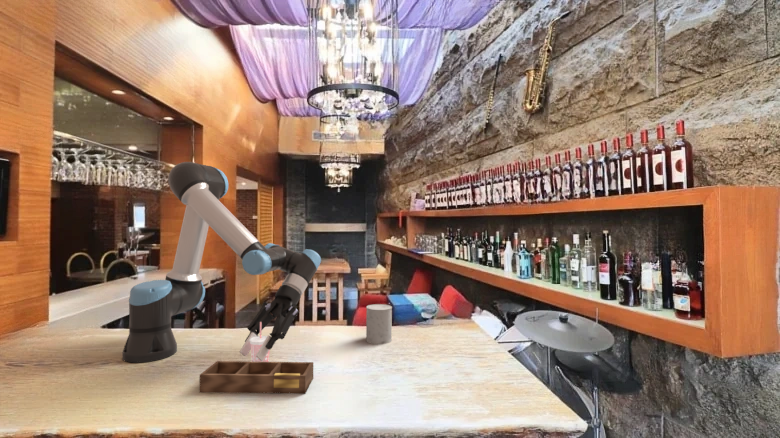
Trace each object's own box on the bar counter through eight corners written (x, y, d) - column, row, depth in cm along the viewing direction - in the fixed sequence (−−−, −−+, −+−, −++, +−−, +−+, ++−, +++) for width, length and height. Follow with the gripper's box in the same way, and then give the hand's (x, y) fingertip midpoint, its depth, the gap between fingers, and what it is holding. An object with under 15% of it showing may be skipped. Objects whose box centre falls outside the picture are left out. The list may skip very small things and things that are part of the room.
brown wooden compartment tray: (198, 392, 98) (199, 374, 98) (216, 377, 108) (217, 360, 108) (305, 394, 98) (305, 375, 98) (313, 378, 108) (313, 361, 108)
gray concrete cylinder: (388, 345, 137) (389, 310, 137) (363, 343, 139) (363, 309, 139) (394, 337, 146) (394, 304, 146) (369, 335, 148) (369, 303, 148)
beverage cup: (275, 367, 115) (275, 321, 115) (258, 374, 110) (259, 325, 110) (261, 363, 118) (262, 318, 118) (244, 370, 113) (245, 322, 113)
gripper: (319, 300, 123) (281, 368, 109) (275, 294, 132) (235, 356, 118) (308, 286, 118) (267, 355, 104) (263, 281, 128) (220, 344, 113)
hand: (250, 356), depth 111 cm, fingers closed on beverage cup, 6 cm apart
